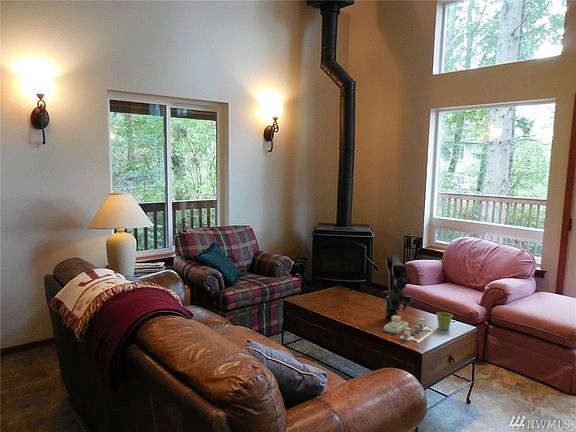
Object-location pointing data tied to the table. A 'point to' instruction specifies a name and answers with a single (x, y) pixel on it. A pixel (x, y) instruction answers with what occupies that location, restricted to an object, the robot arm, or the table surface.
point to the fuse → (396, 322)
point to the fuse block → (417, 328)
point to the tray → (395, 331)
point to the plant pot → (444, 320)
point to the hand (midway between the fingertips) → (396, 309)
